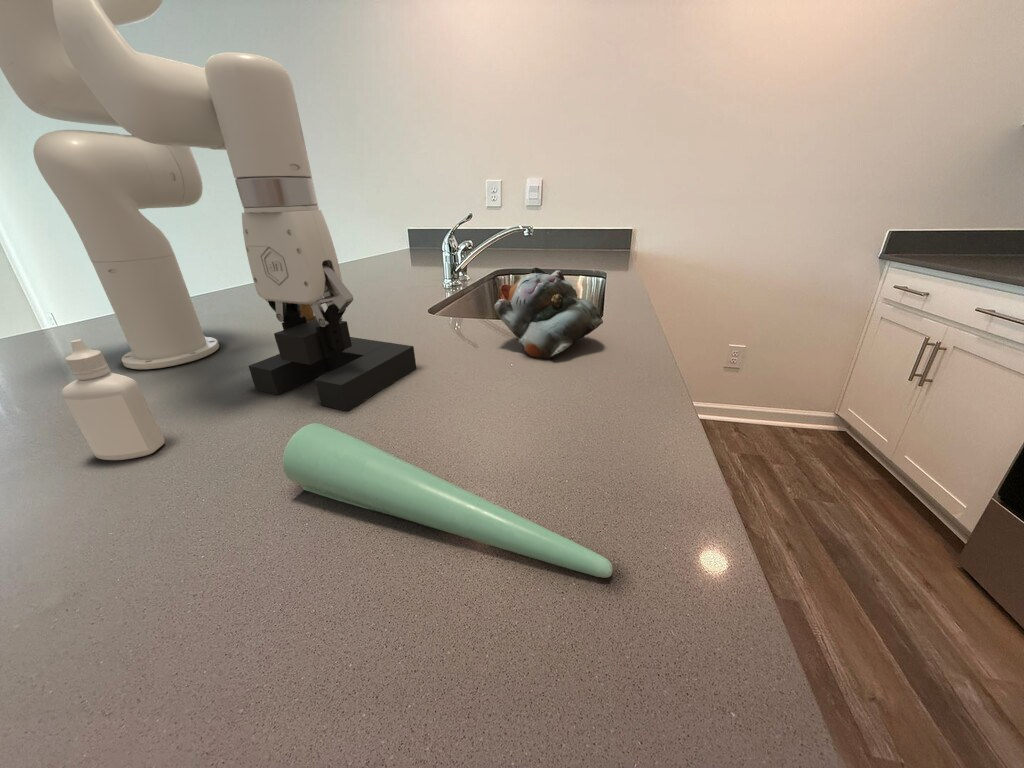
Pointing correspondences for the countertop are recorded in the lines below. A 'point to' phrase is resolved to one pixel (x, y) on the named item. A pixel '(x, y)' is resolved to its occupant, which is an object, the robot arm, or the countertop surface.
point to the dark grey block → (305, 342)
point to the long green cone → (421, 497)
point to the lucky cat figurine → (546, 313)
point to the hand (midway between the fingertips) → (317, 349)
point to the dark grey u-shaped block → (339, 372)
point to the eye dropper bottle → (109, 408)
